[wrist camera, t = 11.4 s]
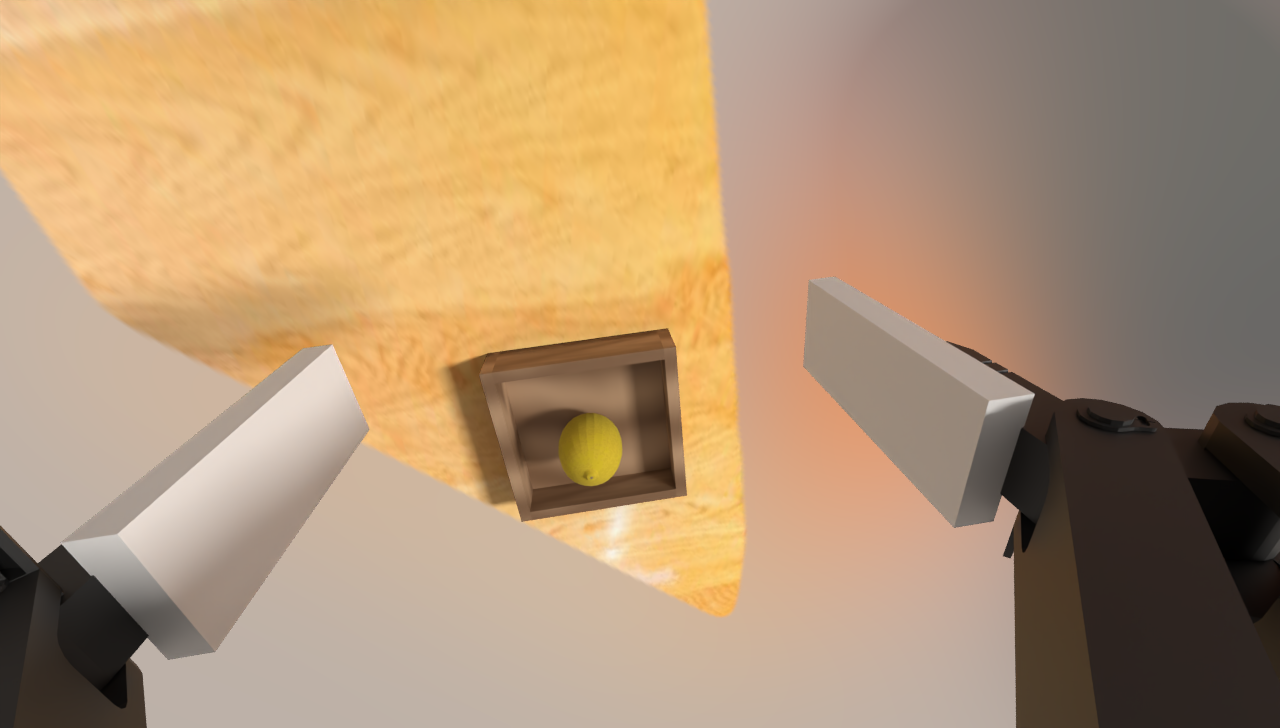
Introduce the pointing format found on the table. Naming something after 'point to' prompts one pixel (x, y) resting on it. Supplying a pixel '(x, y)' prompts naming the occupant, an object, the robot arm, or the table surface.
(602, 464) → the lemon
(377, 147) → the table surface
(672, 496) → the walnut bin
